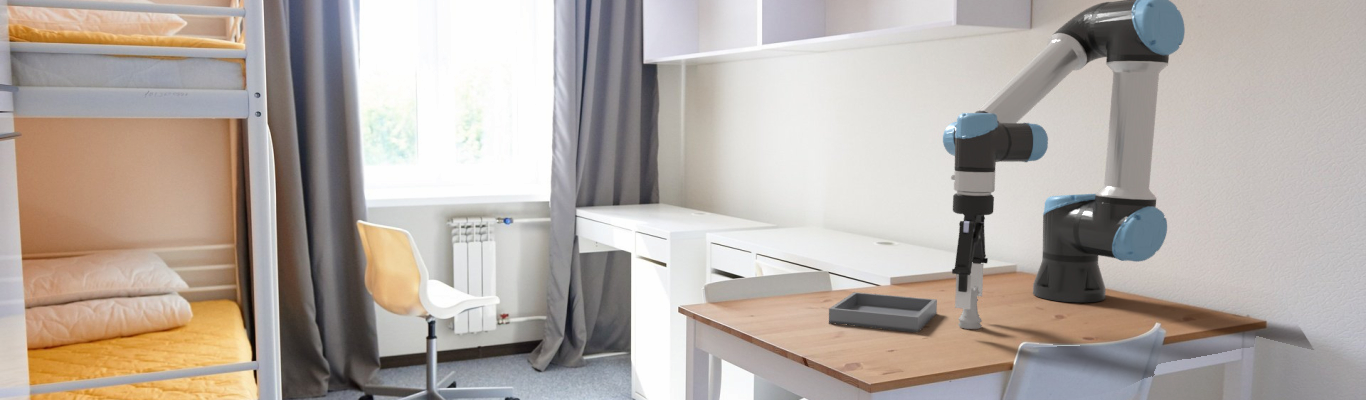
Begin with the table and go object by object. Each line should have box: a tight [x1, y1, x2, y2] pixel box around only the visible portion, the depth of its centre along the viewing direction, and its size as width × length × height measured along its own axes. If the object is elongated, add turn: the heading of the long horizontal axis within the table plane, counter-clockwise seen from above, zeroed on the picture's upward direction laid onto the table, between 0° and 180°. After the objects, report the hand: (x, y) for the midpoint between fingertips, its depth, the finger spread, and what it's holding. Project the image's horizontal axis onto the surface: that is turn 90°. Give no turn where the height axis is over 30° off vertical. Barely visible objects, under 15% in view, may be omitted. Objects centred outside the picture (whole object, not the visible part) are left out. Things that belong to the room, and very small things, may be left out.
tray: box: [828, 291, 938, 333], centre depth 191 cm, size 18×18×3 cm
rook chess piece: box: [957, 286, 983, 330], centre depth 184 cm, size 4×4×8 cm
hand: (968, 301), depth 183 cm, fingers open, 13 cm apart
